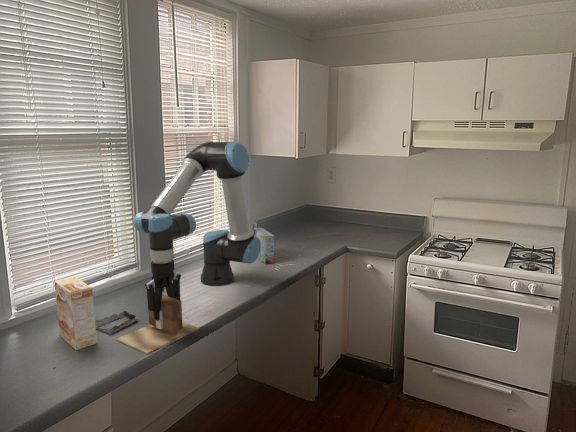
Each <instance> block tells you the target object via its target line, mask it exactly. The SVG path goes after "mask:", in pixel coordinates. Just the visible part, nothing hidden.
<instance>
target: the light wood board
mask: <svg viewBox="0 0 576 432" xmlns="http://www.w3.org/2000/svg"><path fill="white" fill-rule="evenodd" d="M182 325H183V328H182V329H180V330H178V331H176V332H174V333H171V332H168V331H165V330H163V329H162V330H161V329H158V328H156V327H155V326H153V325H150V324H148V325H145V326H143V327H141V328H139V329H136V330H134V331H132V332H129V333H127V334H125V335H122V336H119V337H118V338H116V341H117V342H119V343H121V344H123V345H126V346H128V347H130V348H132V349H134V350H136V351H139V352H141V353H143V354H145V355H149V354H151V353H153V352H155V351H158V350H160V349H162V348H163V347H165V346H168V345H170V344H172V343H174V342H176V341H178V340H181V339H182V338H185V337H186V336H188V335H191V334H193V333H195V332H196V331H199V330H200V327H198V326H196V325H193V324H192V323H191V324H190V323H187V322H185V321H182Z"/></svg>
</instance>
